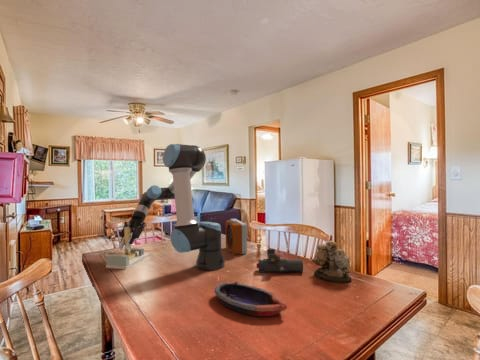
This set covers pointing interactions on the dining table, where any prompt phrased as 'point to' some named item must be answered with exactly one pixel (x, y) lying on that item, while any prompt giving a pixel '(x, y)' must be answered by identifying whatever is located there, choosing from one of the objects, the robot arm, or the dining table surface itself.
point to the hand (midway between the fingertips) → (123, 248)
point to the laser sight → (278, 264)
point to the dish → (249, 299)
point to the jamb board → (131, 262)
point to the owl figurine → (332, 263)
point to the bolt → (127, 235)
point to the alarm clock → (236, 236)
